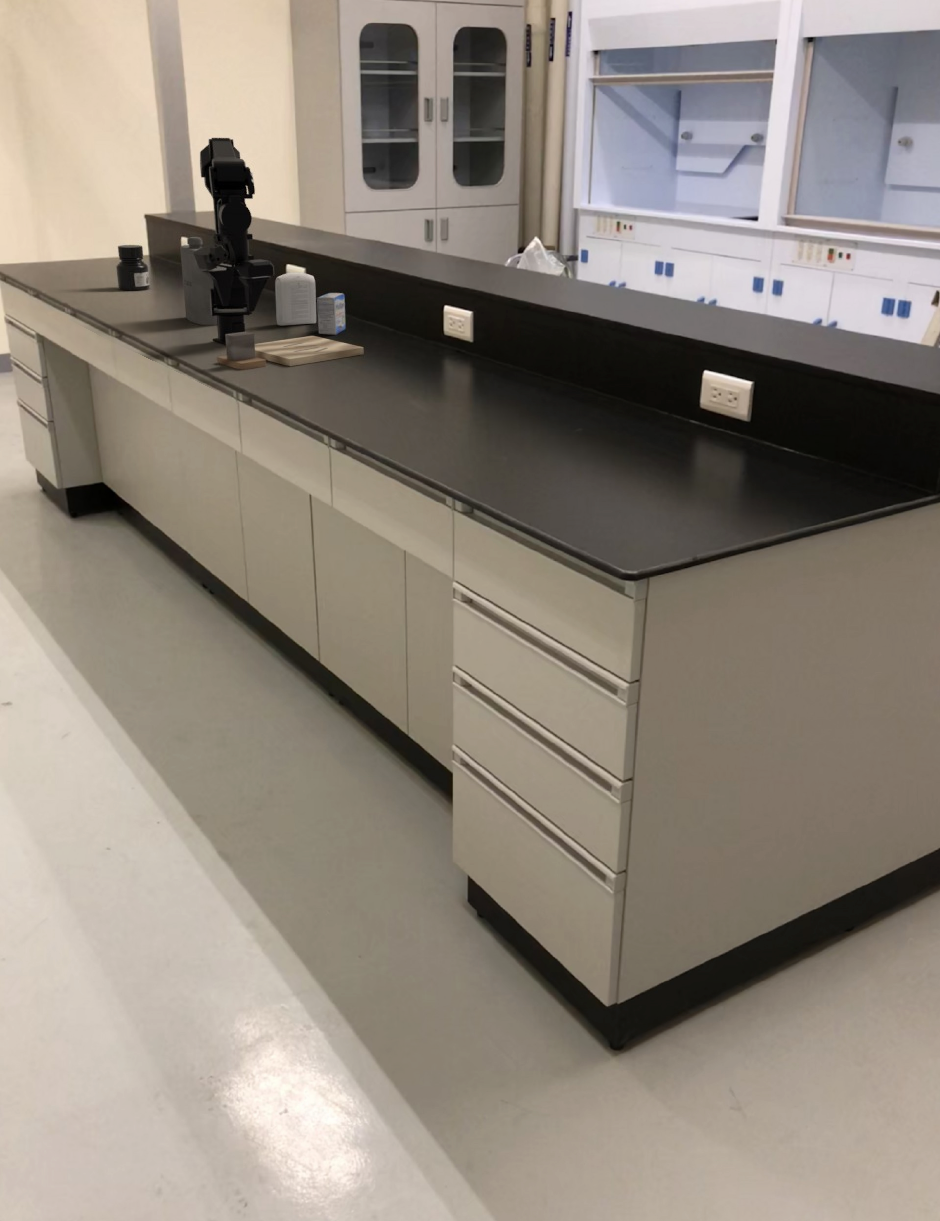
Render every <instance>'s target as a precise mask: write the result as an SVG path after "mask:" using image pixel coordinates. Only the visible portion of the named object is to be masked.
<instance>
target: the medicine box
mask: <svg viewBox="0 0 940 1221" xmlns="http://www.w3.org/2000/svg"><path fill="white" fill-rule="evenodd" d="M345 298H346V297H345V294H344V293H343V292H341V293H340V292H328V293H325V294H323V295H320V296H319V297H316V301H317V302H316V308H317V324H318V326H317V328H318V334H319V335H321V334H322V335H330V336H334V335H335V336H336V335H338V334H339V333H342V332H343V331H345V330H346V308H345V307H346V302H345Z"/></svg>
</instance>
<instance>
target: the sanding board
mask: <svg viewBox="0 0 940 1221" xmlns="http://www.w3.org/2000/svg"><path fill="white" fill-rule="evenodd" d="M364 350H365V349H364V347H363V346H359V345H354V344H351V343H346V342H342V341H338V340H334V339H328V338H324V337H321V336H315V335H308V336H302V337H294V338H287V339H281V340H274V341H268V342H267V341H266V342H260V343H255V357H257V358H261V359H264V360H266V361H269V362H273V363H275V364H281V365H283V366H287V367H294V366H299V365H306V364H312V363H313V364H314V363H318V362H323V361H324V362H325V361H331V360H337V359H343V358H348V357H355V356H361V355H364V353H365V352H364Z"/></svg>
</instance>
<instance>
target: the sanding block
mask: <svg viewBox="0 0 940 1221" xmlns="http://www.w3.org/2000/svg"><path fill="white" fill-rule="evenodd" d="M225 337H226V344H225V350H226V355H220V356H216V363H217V364H219V363H220V365H223V366H227V367H230V368H234V369H237V370H239V371H244V370H251V369H256V368H262V367H264V368H265V367H267V360H264V359H261V358H257V357H255V344H256V343H255V334H254V333H252V332H248V331H245V332H239V333H232V334H225Z"/></svg>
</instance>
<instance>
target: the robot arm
mask: <svg viewBox="0 0 940 1221" xmlns="http://www.w3.org/2000/svg"><path fill="white" fill-rule="evenodd" d="M246 164H247V163H246V161H245V160H244V159H243V158H241V153H240V151H239V149H237V148H236V147H235V144H234V139H233V138H231V137H211V138H208V145H206V146H205V147H204V148H203V149H202V150H200V152H199V168H200V170H199V171H200V177H201V178H203V179H204V181H203V182H204V187H205V188H206V190H207V191H208V193H209V194H210V196H211V199H212V202H213V204H212V205H213V216H214V230H215V232H214V235H213V242H211V243H209V244H207V245H205V246H204V245H203V247H202V246H201V247H202V248H200V249H199V250H197V251H195V252H194V253H193V254H194V257H195V259H196V262H197V265H198V267H199V269H206V270H202V271H203V272H204V273H206V274H207V275H208V276H209V277H211V278H212V287H213V288H210V310H211V315H212V316H217V325H216V326H217V327H216V328H217V337H216V338H212V342H216V343H219V344H224V345H226V337H225V334H232V333H239V332H246V323H245V316H250V315H252V314H253V313H254V311H255V310H256V308H257V305H258V302H259V300H260V297H261V294H262V292H263V291H264V289H265V287H266V284H267V283H268V281H269V280H271V276H275V265H274V264H273V263H272V261H270V260H267V259H261V258H258V259H255V256H254V255H253V254H250V245H249V240H253V234H252V233H249V228H250V227H251V225H252V221H253V220H252V219H253V218H252V213H251V210H250V209H249V207H247V204H246V199H247V200H252V199H253V198H254V196H253V195H255V193H256V192H255V191H256V188H255V182H254V181H255V180H254V176H253V172H252V171H251V168H250V166H247V165H246ZM214 308H217V309H220V310H214Z"/></svg>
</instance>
